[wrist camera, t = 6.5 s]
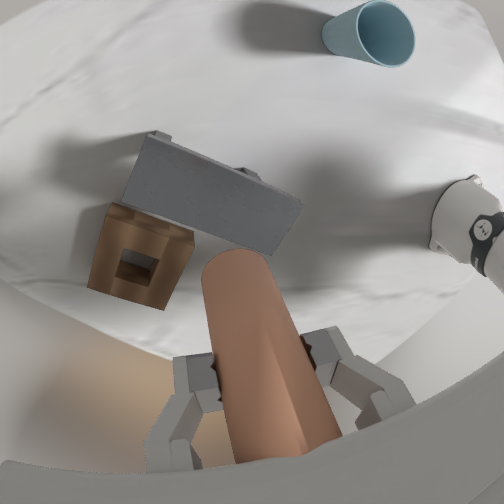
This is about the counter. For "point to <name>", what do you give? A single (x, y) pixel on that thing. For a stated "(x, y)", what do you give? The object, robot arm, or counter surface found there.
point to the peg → (262, 363)
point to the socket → (145, 242)
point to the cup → (372, 34)
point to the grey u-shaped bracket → (209, 195)
